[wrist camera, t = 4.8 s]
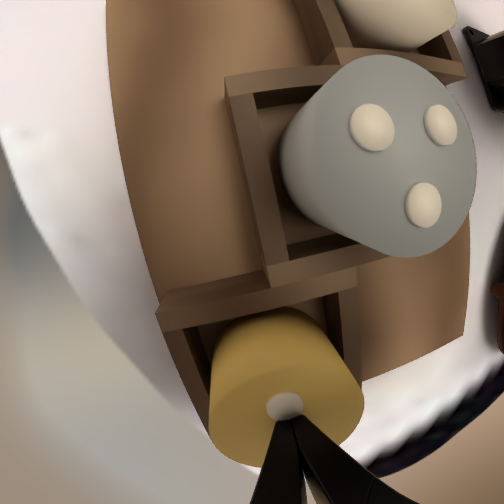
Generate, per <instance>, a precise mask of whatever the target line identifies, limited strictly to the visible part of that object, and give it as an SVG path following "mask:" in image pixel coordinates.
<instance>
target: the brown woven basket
mask: <svg viewBox="0 0 504 504" xmlns="http://www.w3.org/2000/svg"><path fill="white" fill-rule="evenodd" d="M491 291H492V293H493V294H494V296H495V297H496V298H498V299H499V300H500V302H499V309H498V318H497V340H498V345H499V348H500V350H501V352H502V353H503V354H504V280H503V284H501V283H498V284H493V285H492V286H491Z"/></svg>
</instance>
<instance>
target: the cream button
mask: <svg viewBox="0 0 504 504" xmlns="http://www.w3.org/2000/svg"><path fill="white" fill-rule="evenodd" d="M333 1H334V3H335V5H336V7H337V10H338V12H339V14H340V16H341V19H342V21H343V24H344V26H345V28H346V31H347V33H348V36H349V38H350V41H351V44H352V46H353V48H368V49H381V50H391V51H400V52H407V53H410V52H412V51H413V50H415V49H416V48H418V47H420V46H421V45H423V44H425V43H426V42H428V41H430V40H431V39H433V38H435V37H436V36H438V35H440V34H442V33H443V32H445V31H447V30H449V29H450V28H452V27H453V26H454V25H455V24H456V21H457V11H456V8H455V5H454V2H453V0H333Z"/></svg>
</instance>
